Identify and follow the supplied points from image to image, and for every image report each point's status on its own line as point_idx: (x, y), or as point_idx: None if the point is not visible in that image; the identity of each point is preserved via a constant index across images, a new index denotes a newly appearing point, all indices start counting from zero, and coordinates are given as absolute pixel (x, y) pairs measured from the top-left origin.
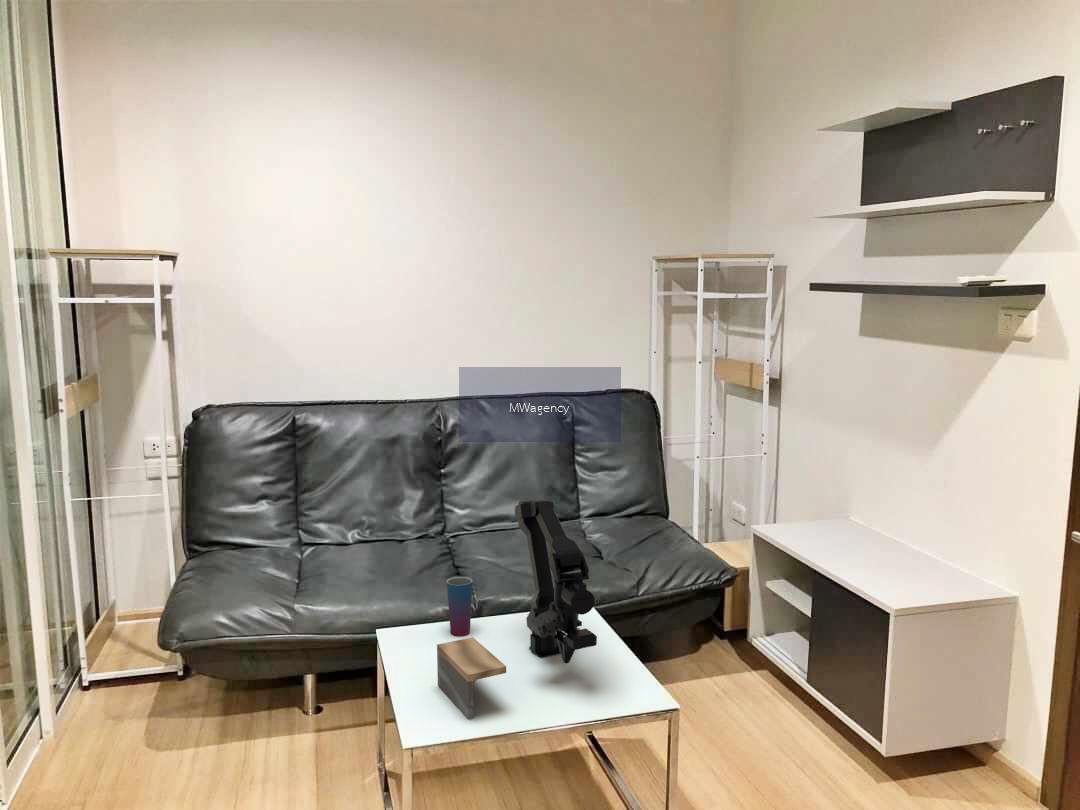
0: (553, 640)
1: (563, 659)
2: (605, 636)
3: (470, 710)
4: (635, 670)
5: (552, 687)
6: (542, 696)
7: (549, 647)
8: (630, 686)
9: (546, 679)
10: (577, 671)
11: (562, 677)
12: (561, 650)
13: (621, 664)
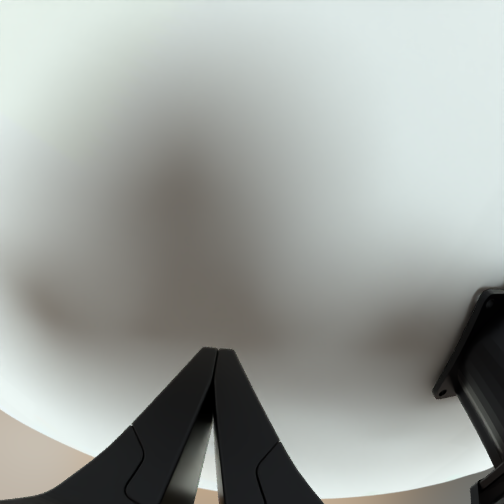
0: (487, 408)
1: (214, 366)
2: (389, 489)
3: None
4: None
5: (111, 125)
6: (56, 26)
7: (484, 366)
8: (42, 406)
9: (243, 150)
10: None
11: (209, 265)
12: (219, 435)
13: (204, 475)
